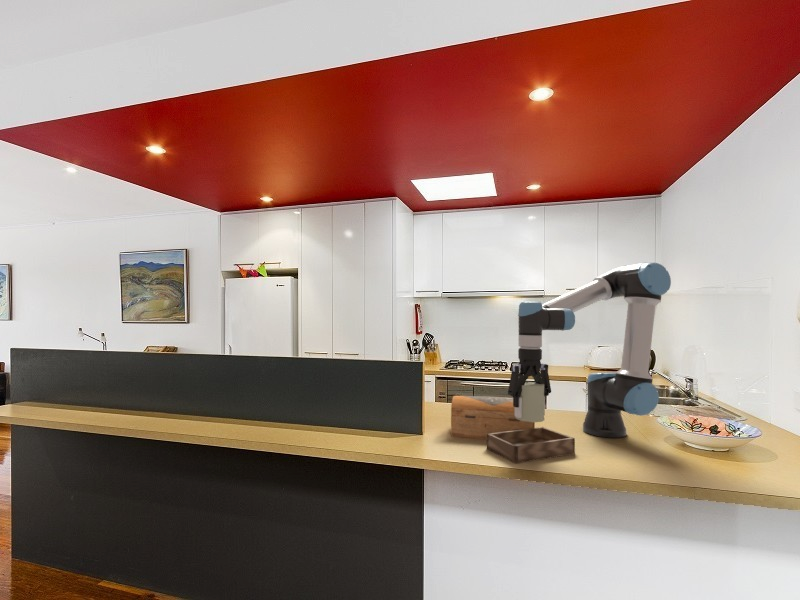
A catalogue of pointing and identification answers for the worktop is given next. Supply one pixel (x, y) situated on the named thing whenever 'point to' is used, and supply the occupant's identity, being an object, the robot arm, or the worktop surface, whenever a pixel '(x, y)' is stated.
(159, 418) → the worktop surface
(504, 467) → the worktop surface
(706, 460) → the worktop surface
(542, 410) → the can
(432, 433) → the worktop surface
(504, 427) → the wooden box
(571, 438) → the crate
